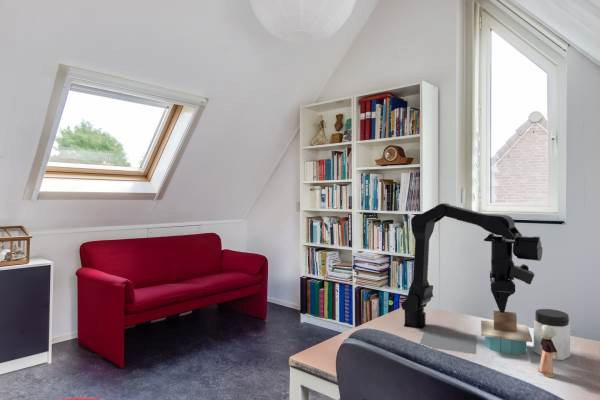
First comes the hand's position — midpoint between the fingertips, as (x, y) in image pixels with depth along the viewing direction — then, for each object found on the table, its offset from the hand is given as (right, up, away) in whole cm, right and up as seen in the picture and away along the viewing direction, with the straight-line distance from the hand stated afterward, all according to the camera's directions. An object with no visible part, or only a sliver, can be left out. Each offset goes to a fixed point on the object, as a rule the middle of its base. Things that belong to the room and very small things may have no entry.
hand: (501, 308), depth 121 cm
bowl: (+1, -12, -1) cm, 12 cm away
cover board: (+1, -7, -1) cm, 7 cm away
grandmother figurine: (+3, -12, -18) cm, 22 cm away
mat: (-14, -12, +5) cm, 19 cm away
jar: (+12, -12, -6) cm, 18 cm away
